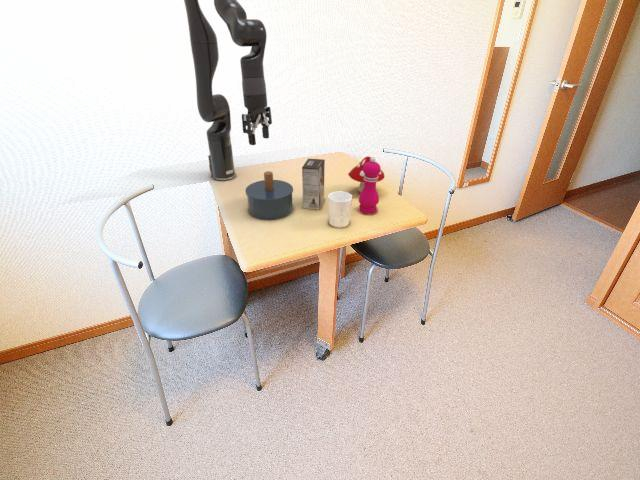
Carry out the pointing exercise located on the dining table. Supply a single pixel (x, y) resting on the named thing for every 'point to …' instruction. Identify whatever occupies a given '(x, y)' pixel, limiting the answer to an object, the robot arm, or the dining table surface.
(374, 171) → the pepper mill
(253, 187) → the pot lid
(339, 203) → the white cup
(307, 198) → the coffee box
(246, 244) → the dining table surface
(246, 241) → the dining table surface
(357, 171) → the decorative mushroom
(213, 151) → the robot arm
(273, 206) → the pot
